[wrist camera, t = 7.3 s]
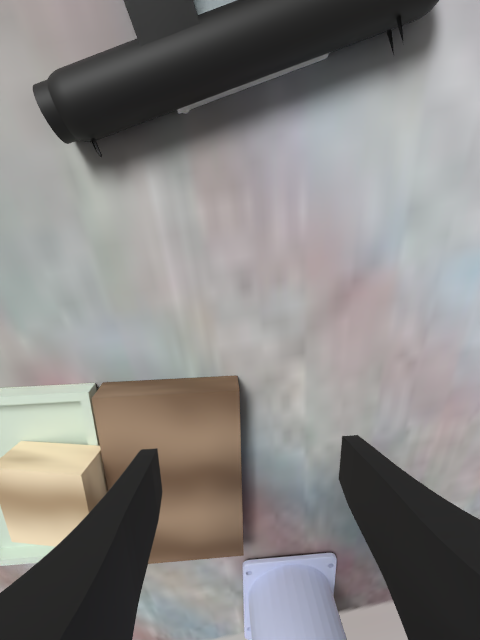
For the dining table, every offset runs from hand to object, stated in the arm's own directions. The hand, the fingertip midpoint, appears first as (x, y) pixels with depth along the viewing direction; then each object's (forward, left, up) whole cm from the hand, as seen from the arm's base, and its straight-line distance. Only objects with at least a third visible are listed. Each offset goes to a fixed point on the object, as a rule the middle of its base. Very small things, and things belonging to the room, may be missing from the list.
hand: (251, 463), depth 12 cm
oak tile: (-8, +12, -8) cm, 17 cm away
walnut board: (-8, +5, -9) cm, 13 cm away
